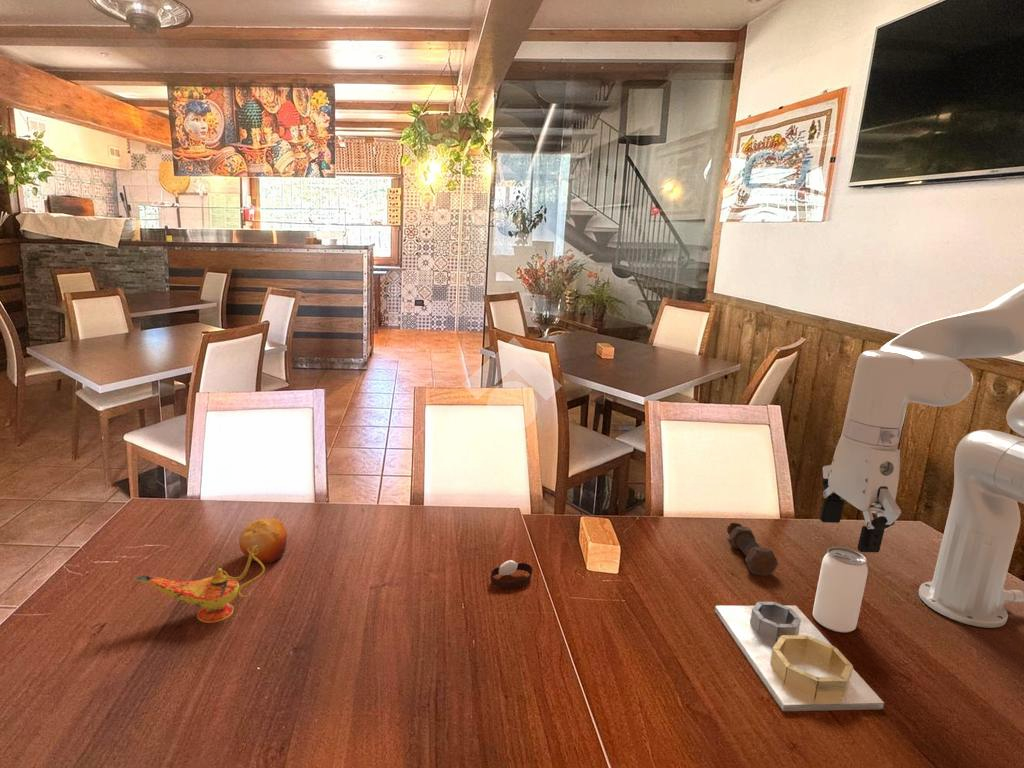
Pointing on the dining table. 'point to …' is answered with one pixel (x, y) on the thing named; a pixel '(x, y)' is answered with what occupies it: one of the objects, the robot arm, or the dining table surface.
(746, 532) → the bolt
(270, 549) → the fruit
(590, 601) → the dining table surface
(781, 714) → the dining table surface
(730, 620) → the plate
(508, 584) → the watch
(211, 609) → the magic lamp
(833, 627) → the can
